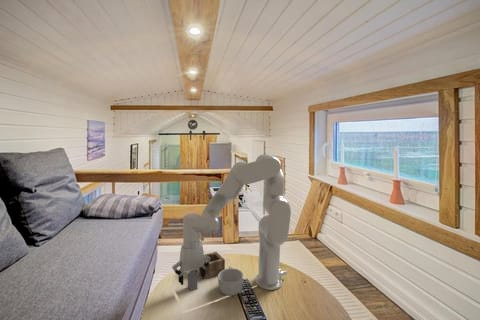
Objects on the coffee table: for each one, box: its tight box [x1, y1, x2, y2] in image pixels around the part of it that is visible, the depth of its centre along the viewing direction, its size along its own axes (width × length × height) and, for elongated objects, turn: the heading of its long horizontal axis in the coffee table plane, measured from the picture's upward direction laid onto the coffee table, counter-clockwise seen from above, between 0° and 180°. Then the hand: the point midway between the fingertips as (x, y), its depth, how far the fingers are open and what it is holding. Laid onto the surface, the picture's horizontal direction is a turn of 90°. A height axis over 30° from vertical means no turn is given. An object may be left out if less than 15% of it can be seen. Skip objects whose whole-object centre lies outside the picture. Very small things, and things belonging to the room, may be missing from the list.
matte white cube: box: [184, 268, 200, 276], centre depth 120 cm, size 5×6×5 cm
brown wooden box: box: [199, 251, 226, 280], centre depth 122 cm, size 10×10×8 cm
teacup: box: [217, 266, 244, 297], centre depth 109 cm, size 14×11×8 cm
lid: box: [187, 271, 198, 292], centre depth 108 cm, size 10×10×8 cm
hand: (192, 280), depth 108 cm, fingers open, 9 cm apart
